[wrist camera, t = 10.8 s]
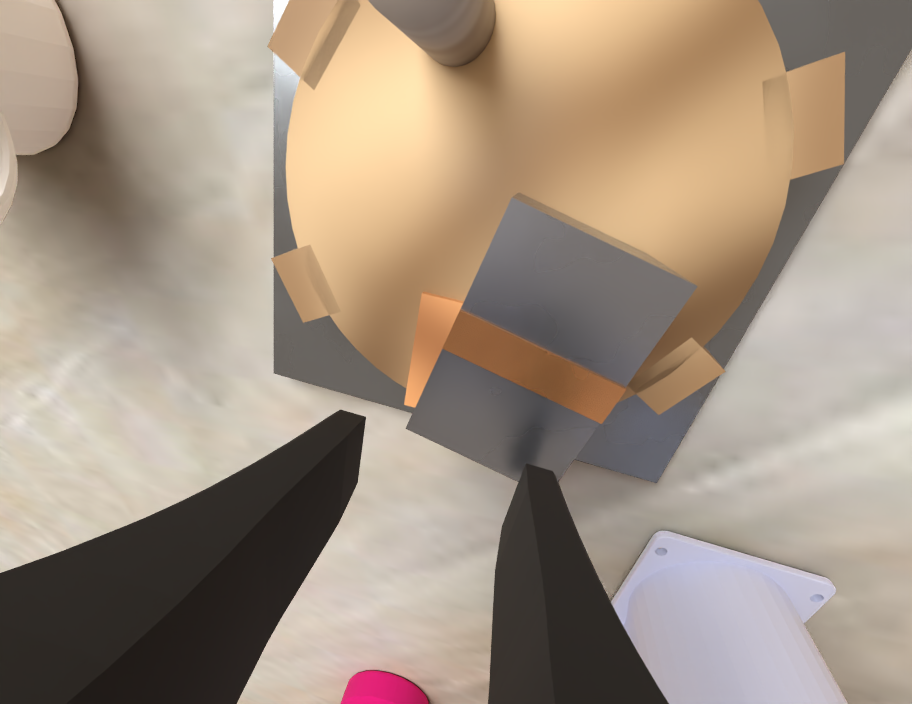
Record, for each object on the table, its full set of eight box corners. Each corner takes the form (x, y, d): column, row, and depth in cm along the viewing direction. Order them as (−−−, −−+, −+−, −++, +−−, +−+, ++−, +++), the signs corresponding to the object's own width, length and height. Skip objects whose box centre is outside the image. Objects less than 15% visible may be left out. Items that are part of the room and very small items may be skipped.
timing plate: (651, 466, 18) (657, 486, 17) (286, 363, 19) (271, 375, 18) (969, -100, 10) (1023, -131, 9) (295, -216, 11) (269, -255, 10)
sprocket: (919, 204, 11) (1205, 243, 6) (524, 478, 18) (517, 599, 13) (492, -329, 9) (430, -932, 4) (215, 218, 15) (62, 248, 10)
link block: (518, 192, 12) (511, 197, 8) (647, 253, 12) (699, 287, 8) (439, 364, 14) (404, 430, 10) (544, 414, 14) (548, 498, 10)
